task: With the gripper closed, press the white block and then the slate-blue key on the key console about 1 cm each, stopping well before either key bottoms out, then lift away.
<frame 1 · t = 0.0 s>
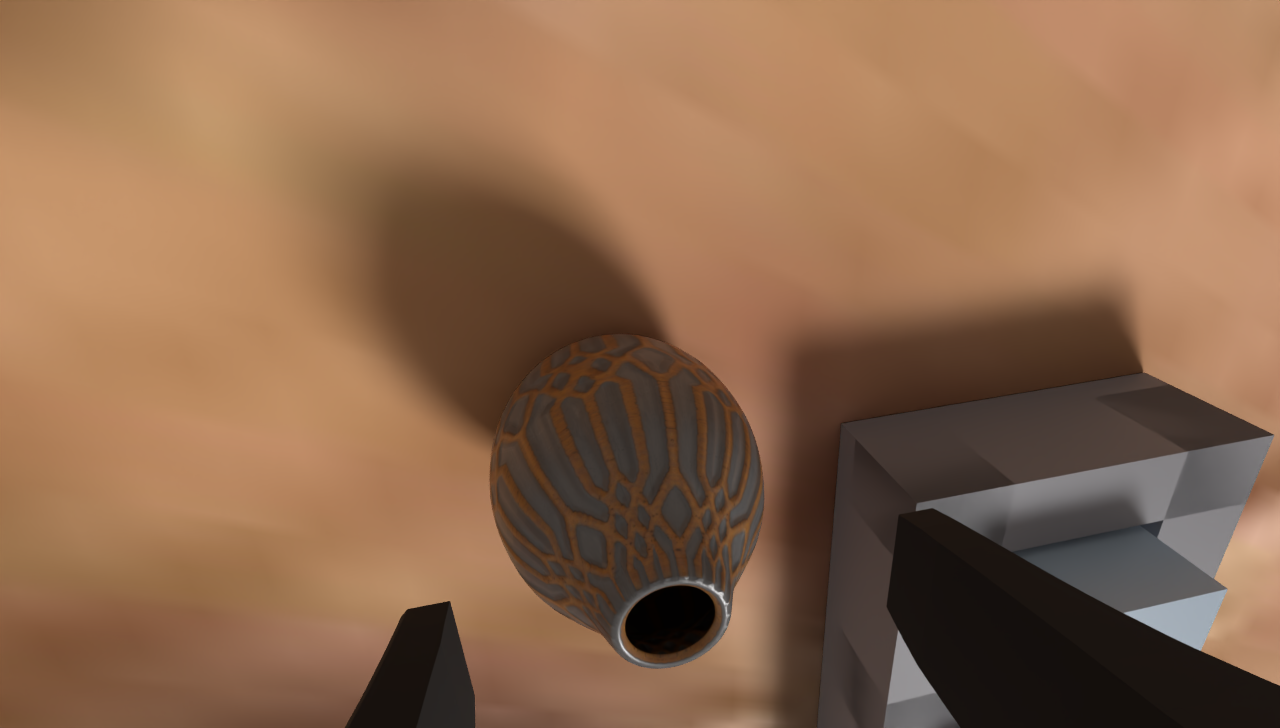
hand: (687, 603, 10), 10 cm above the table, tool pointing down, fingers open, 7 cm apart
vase: (603, 404, 20), on the table
key console: (957, 604, 27), on the table
slate key: (1075, 617, 21), point 5 cm above the table, slide at 0.0 cm
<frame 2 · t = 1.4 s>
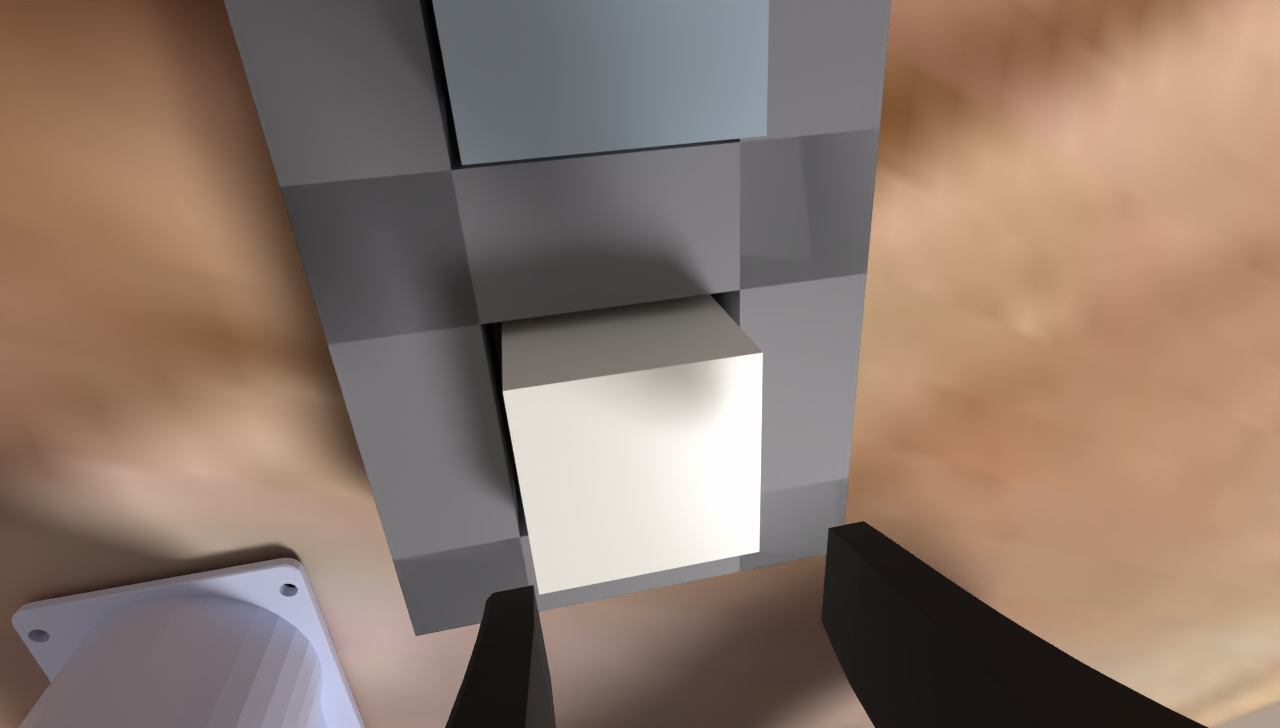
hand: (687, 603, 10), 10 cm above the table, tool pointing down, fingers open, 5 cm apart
key console: (582, 195, 18), on the table
white block: (627, 430, 15), point 5 cm above the table, slide at 0.0 cm
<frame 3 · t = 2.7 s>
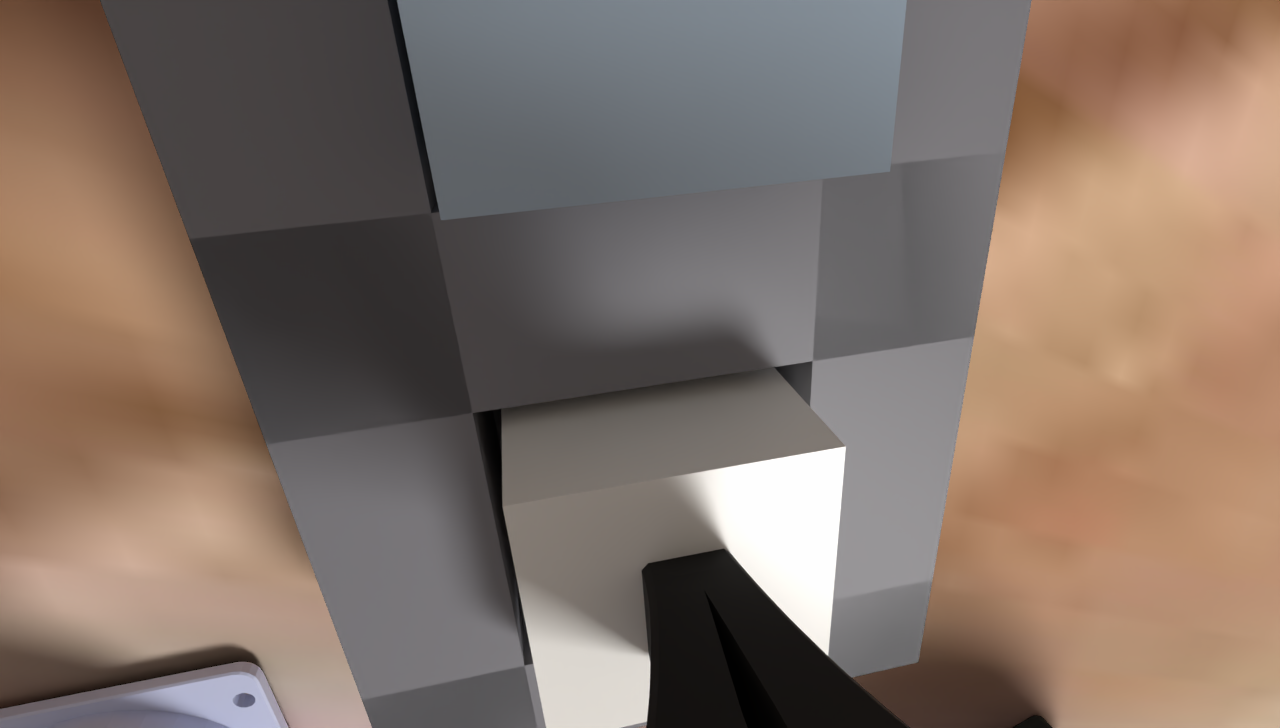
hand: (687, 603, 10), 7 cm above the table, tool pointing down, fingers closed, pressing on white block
key console: (601, 229, 14), on the table
white block: (659, 525, 12), point 5 cm above the table, slide at 0.5 cm, touching gripper
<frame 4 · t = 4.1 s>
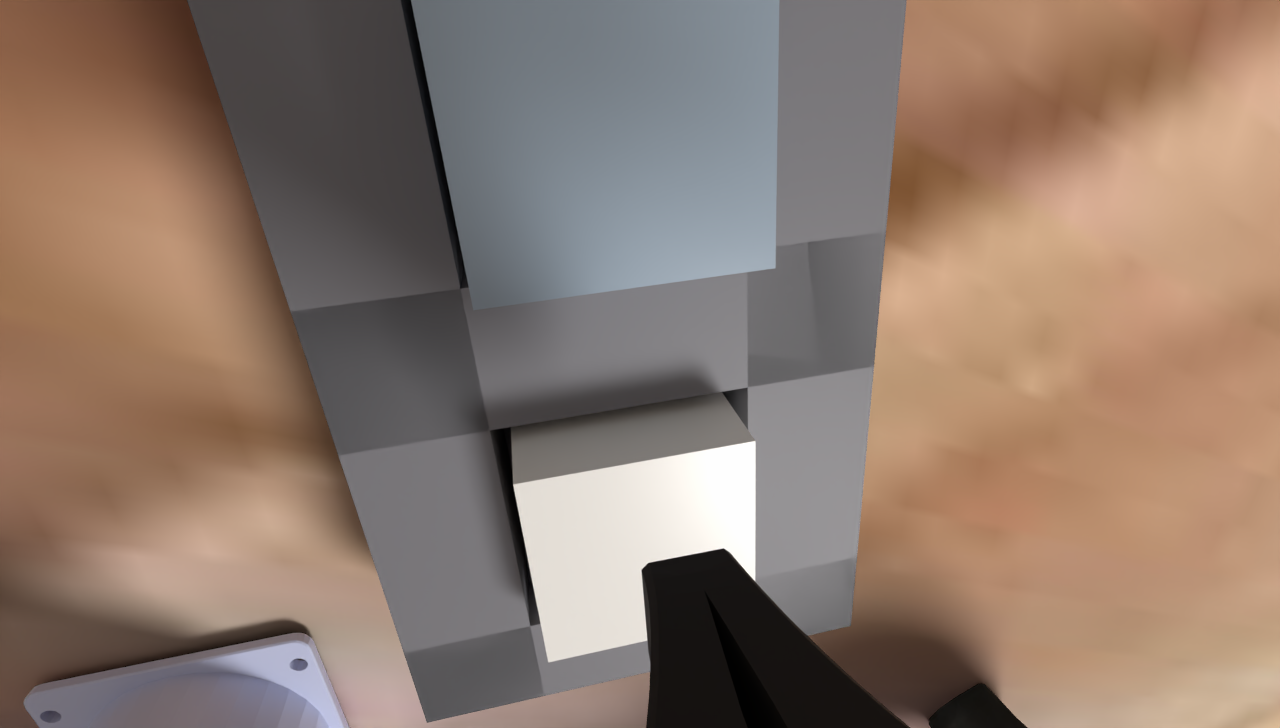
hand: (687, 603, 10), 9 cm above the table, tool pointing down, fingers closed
key console: (588, 278, 18), on the table
slate key: (596, 115, 11), point 5 cm above the table, slide at 0.0 cm
white block: (629, 502, 16), point 4 cm above the table, slide at 0.9 cm
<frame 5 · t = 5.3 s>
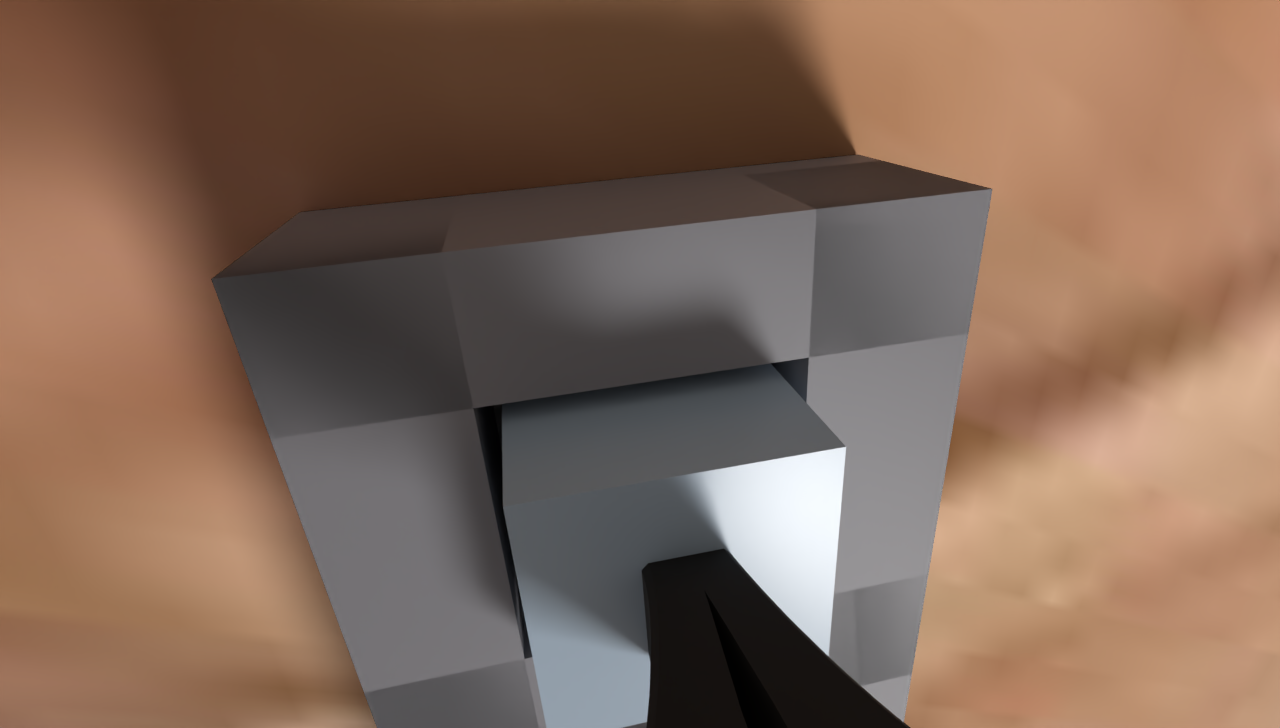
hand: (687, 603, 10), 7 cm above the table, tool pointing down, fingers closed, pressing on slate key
key console: (630, 545, 18), on the table
slate key: (659, 525, 12), point 5 cm above the table, slide at 0.3 cm, touching gripper
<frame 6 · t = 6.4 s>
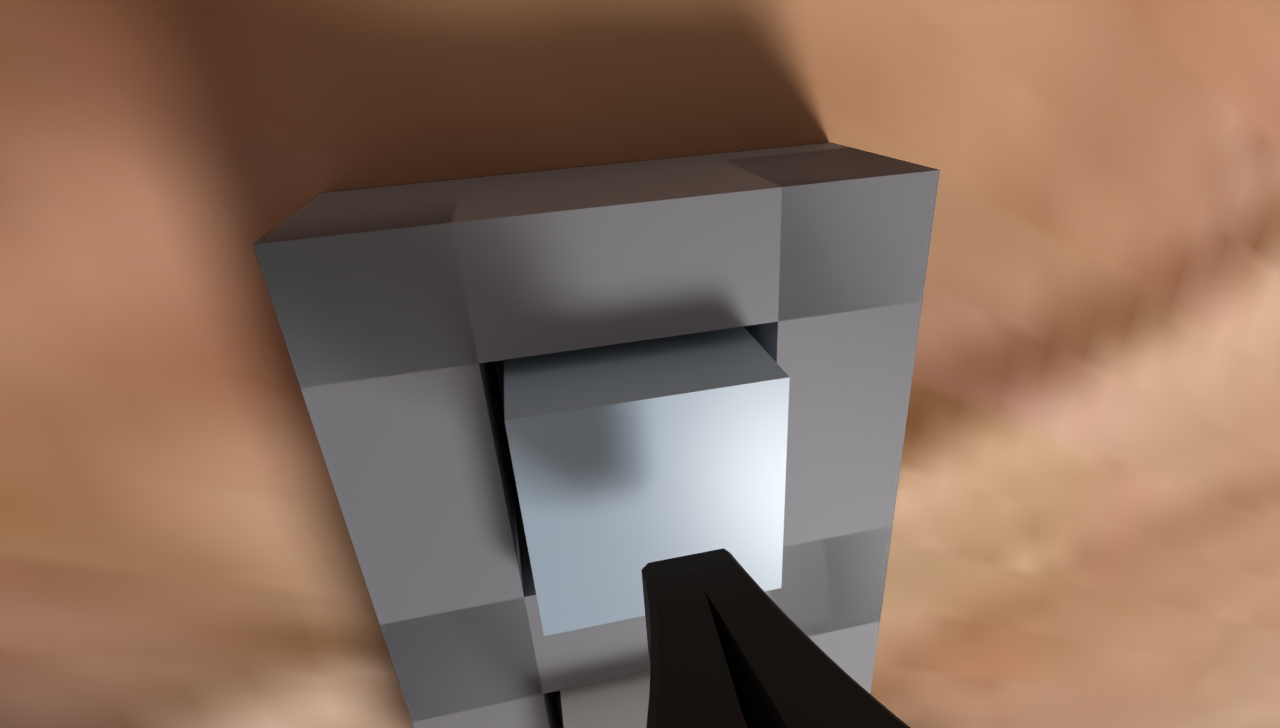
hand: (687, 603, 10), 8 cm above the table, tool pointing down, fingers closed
key console: (623, 507, 20), on the table
slate key: (639, 456, 14), point 4 cm above the table, slide at 0.9 cm
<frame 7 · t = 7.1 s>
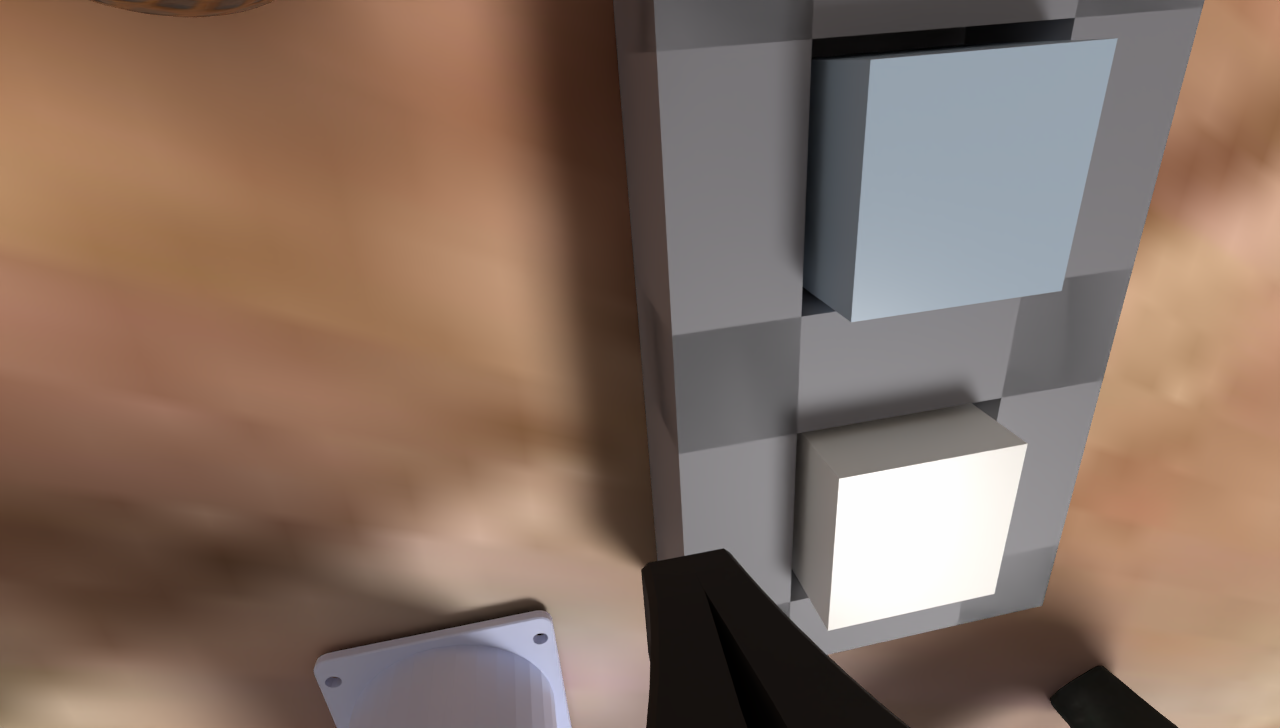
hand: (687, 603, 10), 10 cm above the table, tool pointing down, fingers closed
key console: (827, 301, 20), on the table
slate key: (918, 173, 15), point 4 cm above the table, slide at 0.9 cm
white block: (882, 495, 19), point 4 cm above the table, slide at 0.9 cm
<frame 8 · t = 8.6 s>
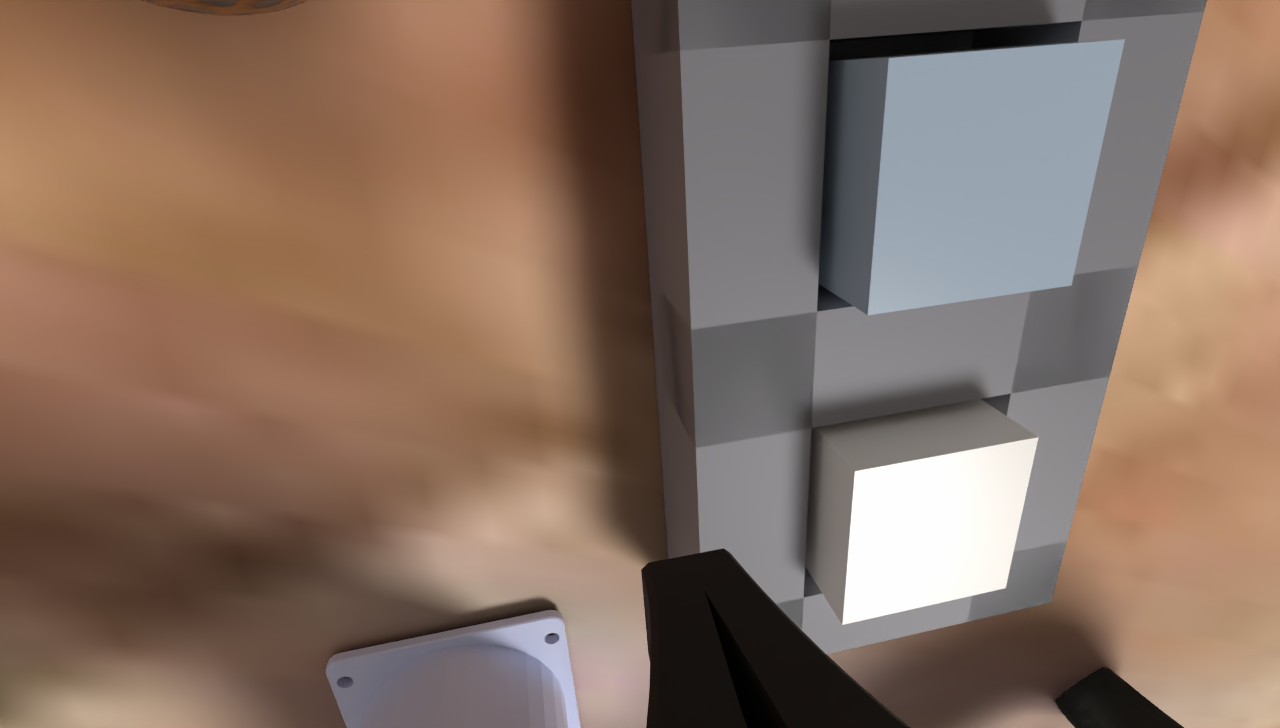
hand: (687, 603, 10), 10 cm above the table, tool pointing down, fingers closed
key console: (836, 300, 21), on the table
slate key: (930, 171, 15), point 4 cm above the table, slide at 0.9 cm
white block: (894, 491, 19), point 4 cm above the table, slide at 0.9 cm
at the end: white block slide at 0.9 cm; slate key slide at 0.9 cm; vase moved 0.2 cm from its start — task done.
